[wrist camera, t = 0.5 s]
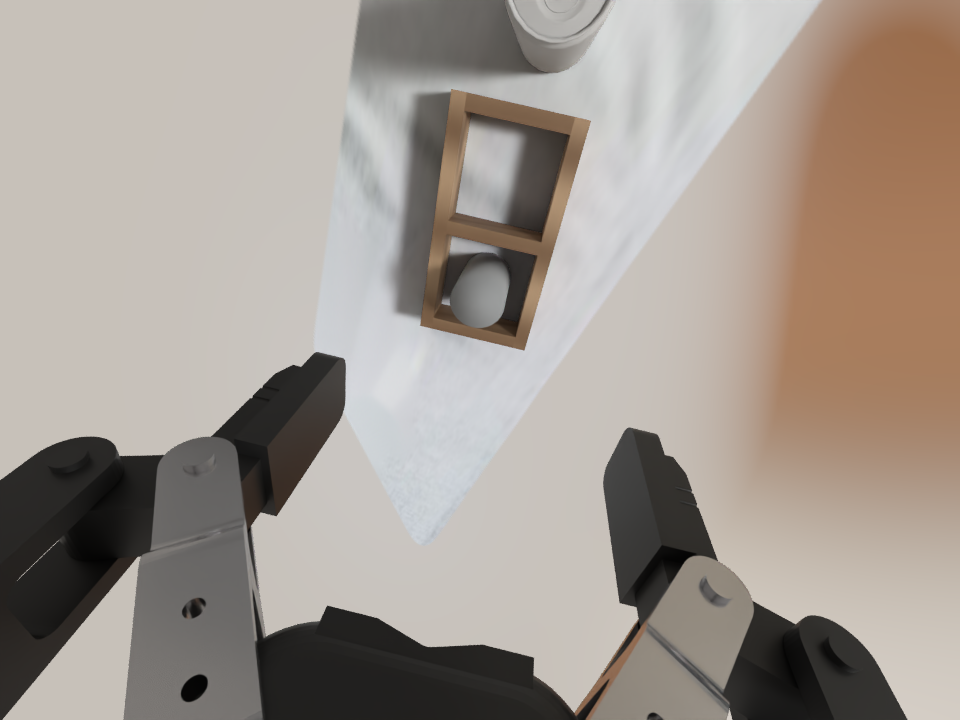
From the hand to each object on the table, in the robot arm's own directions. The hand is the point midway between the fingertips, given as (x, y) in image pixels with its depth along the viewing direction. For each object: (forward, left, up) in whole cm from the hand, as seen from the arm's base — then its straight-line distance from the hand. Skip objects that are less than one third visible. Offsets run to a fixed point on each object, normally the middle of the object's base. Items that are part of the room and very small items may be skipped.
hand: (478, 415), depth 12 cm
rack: (+1, -2, -24) cm, 25 cm away
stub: (+5, -2, -24) cm, 25 cm away
